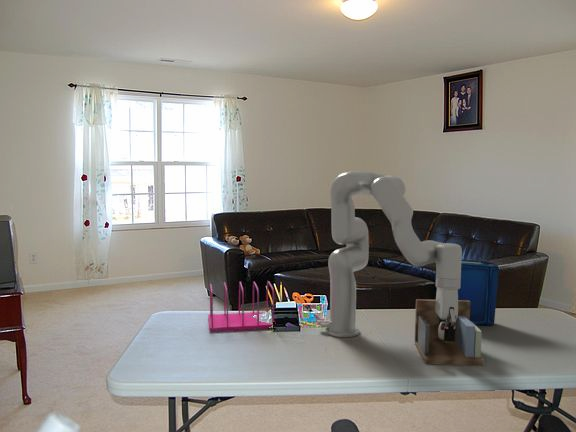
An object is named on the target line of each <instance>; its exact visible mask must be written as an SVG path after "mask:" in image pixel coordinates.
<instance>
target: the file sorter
mask: <svg viewBox="0 0 576 432" xmlns="http://www.w3.org/2000/svg"><path fill="white" fill-rule="evenodd" d="M269 288H271V292H272V307H271V308H272V309H271V311H272V313H271V316H272V323H273V322H275V290H274V287H273V285H272V284H271V282H270V281H269V280H267V282H266V305H265V307H266V311H265V312H269ZM255 290H256V295H257V298H256V299H257V307H256V308H257V311H255ZM259 291H260V290H259V287H258V285H257V283H256V282H255V281H253V282H252V312H245V309H244V308H245V305H244V304H245V300H244V299H245V297H244V295H245V294H244V293H245V292H244V287H243V285H242V281H239V284H238V312H236V313H229V302H228V301H229V299H228V298H229V297H228V288H227V283H226V282H223V305H224V307H223V308H224V309H223V310H224V311H223V312H224V313H218V314H216V313H214V300H213V299H214V296H213V295H214V293H213V285H212V283H210V284H209V314H207V315H208V316H207V317H208V329H209V333H214V332H215V333H218V332H232V331H233V332H235V331H250V330H251V331H252V330H269V329H268V328H269V327H271V326H272V325H273V324H270V323H266V322H261V321H259V314H262V313H263V312H264V311H260V292H259ZM241 297H242V298H241ZM241 309H242V310H241ZM254 315H257V319H256V318H253V316H254Z"/></svg>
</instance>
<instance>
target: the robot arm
mask: <svg viewBox="0 0 576 432" xmlns="http://www.w3.org/2000/svg"><path fill="white" fill-rule="evenodd" d="M405 192H406V184H405V182H404V181H403V180H402V179H401V178H399V177H397V176H395V175H387V174H383V173H378V172H373V171H365V170H364V171H357V170H356V171H355V170H353V171H347V172H344V173H343V172H342V173H340V174H339V175H338V176H336V177H335V178H334V180H333V181H332V183H331V186H330V194H329V195H330V196H329V197H330V207H331V213H330V214H331V219H330V220H331V221H330V222H331V237H332V240H333V241H334V243H336V244H338V245H342V246H343V245H346V246H345V247H341V248H338V249H335V250H334V251H332V252H331V254H330V255H329V256H328V260H327V261H328V264H327V265H328V271H329V281H330V285H329V287H330V288H329V289H330V293H329V295H330V296H329V299H330V300H329V301H330V303H329V318H328V319H326V320H322V319H320V320H319V319H318V320H317V326H320V327H321V328H325V333H327V334H328V335H329V336H332V337H337V338H351V337H352V338H353V337H356V336H358V335H359V334H360V328H359V327H357V326H356V321H357V320H356V319H357V318H356V316H357V315H356V314H357V310H356V309H357V282H356V278H355V274H354V272H357V271H360V270H361V271H362V270H363V269H364V268H365V267H366V266H367V265H368V263H369V255H370V254H369V253H370V252H369V250H370V249H369V246H370V244H369V228H368V225H367V223H366V221H365V220H363V219H362V218H361V217H356V211H355V210H356V209H355V203H354V199H353V196H361V195H368V196H369V195H370V196H372V197H373V198H374V200H375V201H376V202H377V204H378V206H379V207H380V209H381V210H382V212H383V214H384V215H385V217H386V218H387V219H388V221H389V222H390V225H391V230H392V235H393V239H394V242H395V243H396V246H397V247H398V249H399V251H400V252H401V254H402V256H403V257H404V258H405V259H406V260H407V261H408V262H409V263H410V264H411V265H412V266H415V267H424V266H427V265H429V264H435V266H436V268H435V270H436V271H435V287H436V293H435V295H436V296H435V300H436V306H435V312H436V314H437V315H438V316H439V325H440V323H441V322H442V321H444V322H445V328H444V341H455V323H456V319H457V317H458V289H460V286H461V260H462V259H463V258H462V254H463V250H462V246H461V245H459V244H457V243H452V242H446V243H445V242H444V243H443V242H440V241H436V240H432V239H431V240H430V239H429V240H428V239H427V240H423V241H421V239H419V236H418V235H417V234H416V233H415V231H414V228H413V225H412V219H413V215H414V210H413V208H412V206H411V205H410V204H409V201H408V200H407V199H406V197H405V196H404V195H405ZM449 317H450V319H448V318H449ZM449 321H450V322H449ZM448 322H449V323H448ZM438 329H439V327H438Z"/></svg>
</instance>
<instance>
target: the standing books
mask: <svg viewBox="0 0 576 432" xmlns="http://www.w3.org/2000/svg"><path fill="white" fill-rule="evenodd" d="M482 335H483V333H482V330H481V329H480V328H479V327H478V325H477V326H476V325H475V324H474V323H473V322H472V321H469V320H468V319H467V318H466V317H465V316H458V317H457V330H456V345H457V347H458V348H459V349H460V350H461V352H462V353H463V354H464V356H465V357H481V355H482V354H481V353H482ZM481 358H482V357H481Z"/></svg>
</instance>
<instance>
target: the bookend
mask: <svg viewBox="0 0 576 432" xmlns="http://www.w3.org/2000/svg"><path fill="white" fill-rule="evenodd" d="M429 328H430V325H429V324H428V322H427V321H426V320H425V318H424V317H423V315H419V322H418V345H419V347H420V348H421V350H422V352H423V354H424V355H425V356H428V355H429Z"/></svg>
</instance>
